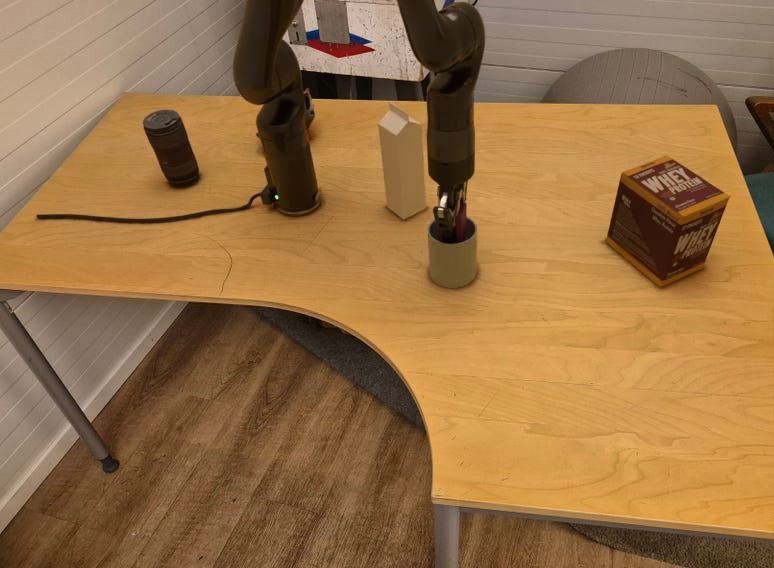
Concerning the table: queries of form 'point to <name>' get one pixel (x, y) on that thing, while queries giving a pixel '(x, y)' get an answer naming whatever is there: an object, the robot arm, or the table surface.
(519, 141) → the table surface
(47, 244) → the table surface
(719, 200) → the supplement box
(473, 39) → the robot arm
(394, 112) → the milk
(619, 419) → the table surface
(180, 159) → the camera lens
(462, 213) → the juice box
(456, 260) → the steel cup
